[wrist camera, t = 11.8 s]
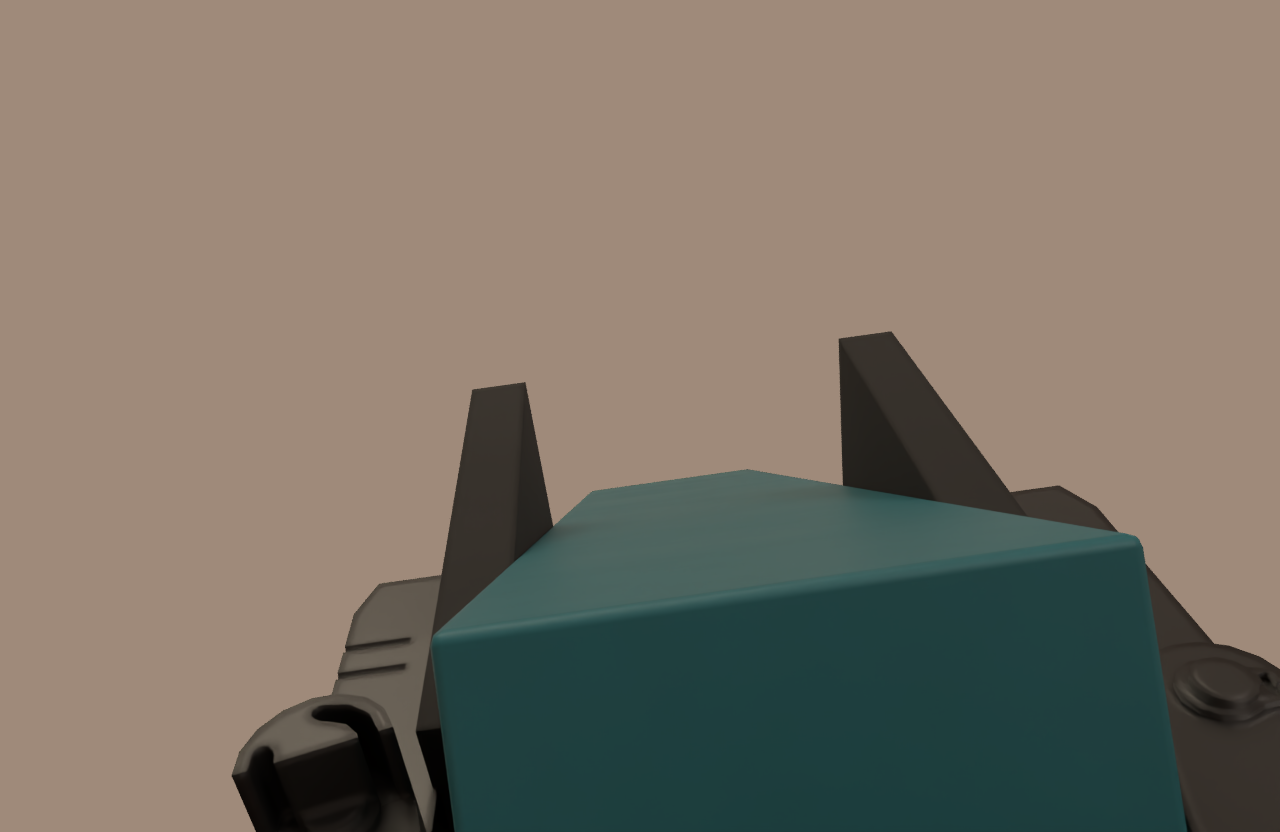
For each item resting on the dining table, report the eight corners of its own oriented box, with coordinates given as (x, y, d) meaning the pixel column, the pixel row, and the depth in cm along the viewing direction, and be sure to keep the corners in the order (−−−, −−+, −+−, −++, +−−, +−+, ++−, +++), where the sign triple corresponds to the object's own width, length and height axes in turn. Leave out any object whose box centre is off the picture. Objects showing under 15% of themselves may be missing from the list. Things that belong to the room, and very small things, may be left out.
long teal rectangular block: (1236, 1105, 6) (1145, 532, 6) (500, 1213, 6) (425, 633, 6) (768, 593, 28) (749, 468, 28) (607, 616, 28) (589, 491, 28)
